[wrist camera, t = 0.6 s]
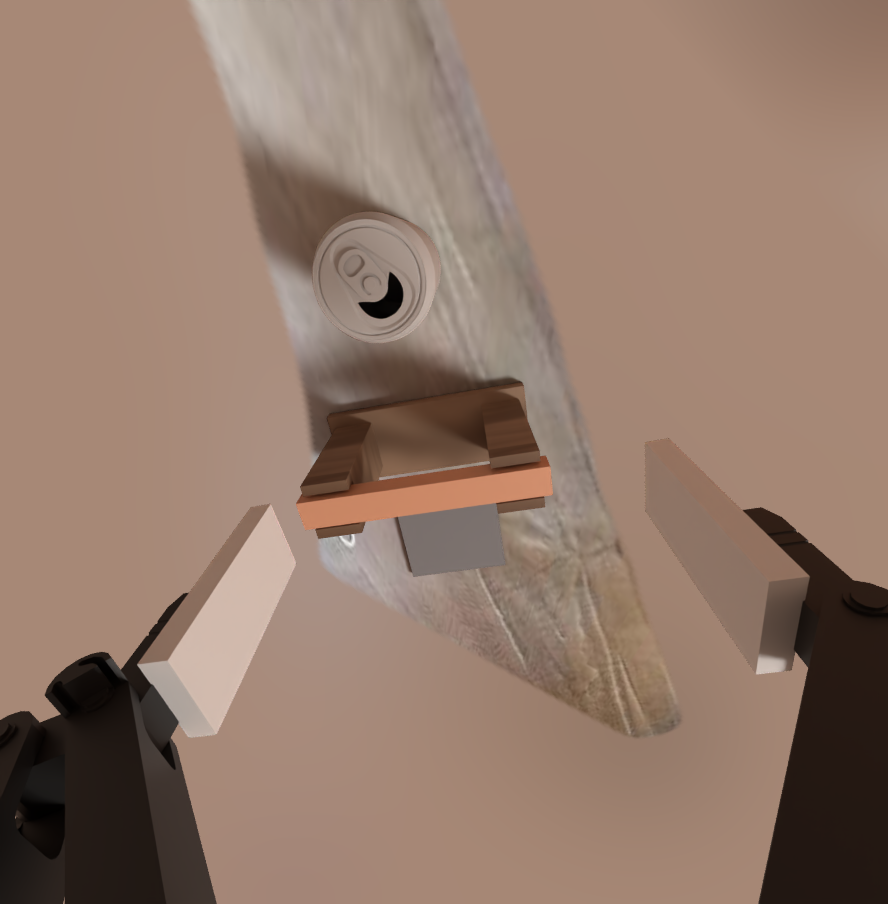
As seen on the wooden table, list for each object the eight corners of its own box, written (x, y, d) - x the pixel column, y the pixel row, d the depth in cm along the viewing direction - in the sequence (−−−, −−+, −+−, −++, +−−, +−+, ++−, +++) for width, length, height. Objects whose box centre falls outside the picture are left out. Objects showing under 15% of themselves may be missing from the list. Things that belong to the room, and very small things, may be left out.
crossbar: (302, 492, 30) (295, 504, 29) (545, 455, 29) (550, 466, 28) (311, 517, 31) (305, 530, 30) (548, 483, 30) (552, 494, 28)
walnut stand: (329, 413, 38) (287, 474, 28) (522, 382, 37) (546, 434, 27) (348, 476, 41) (315, 551, 31) (529, 449, 39) (554, 519, 29)
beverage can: (396, 331, 35) (370, 374, 24) (334, 263, 33) (276, 276, 22) (459, 273, 33) (461, 290, 22) (398, 197, 31) (368, 176, 20)
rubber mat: (393, 495, 41) (392, 498, 41) (492, 480, 40) (493, 483, 40) (413, 573, 45) (413, 576, 45) (504, 561, 44) (505, 564, 44)
